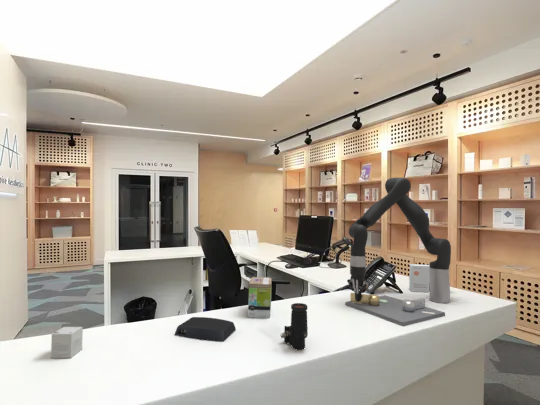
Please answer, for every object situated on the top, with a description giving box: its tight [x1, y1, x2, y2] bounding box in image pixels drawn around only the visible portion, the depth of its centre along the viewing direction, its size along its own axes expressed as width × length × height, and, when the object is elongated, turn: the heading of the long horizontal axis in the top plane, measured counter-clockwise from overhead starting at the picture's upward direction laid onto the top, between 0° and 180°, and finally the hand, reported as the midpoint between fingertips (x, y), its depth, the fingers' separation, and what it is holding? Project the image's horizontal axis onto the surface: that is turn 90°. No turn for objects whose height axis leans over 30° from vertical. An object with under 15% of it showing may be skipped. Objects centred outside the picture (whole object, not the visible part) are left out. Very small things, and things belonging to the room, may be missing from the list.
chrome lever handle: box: [402, 297, 426, 312], centre depth 140 cm, size 14×5×4 cm, turn 119°
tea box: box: [247, 276, 273, 319], centre depth 137 cm, size 15×10×15 cm
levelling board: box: [344, 294, 446, 327], centre depth 144 cm, size 29×33×2 cm
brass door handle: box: [350, 292, 380, 306], centre depth 149 cm, size 14×5×4 cm, turn 63°
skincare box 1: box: [50, 326, 84, 359], centre depth 94 cm, size 6×6×7 cm
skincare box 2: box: [408, 263, 430, 293], centre depth 181 cm, size 21×6×16 cm, turn 81°
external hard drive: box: [174, 316, 237, 343], centre depth 112 cm, size 13×19×4 cm
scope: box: [280, 302, 309, 351], centre depth 102 cm, size 8×14×10 cm
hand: (357, 300), depth 148 cm, fingers closed
